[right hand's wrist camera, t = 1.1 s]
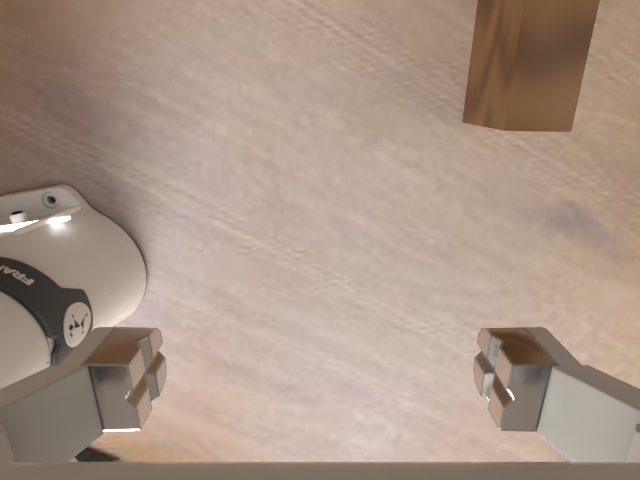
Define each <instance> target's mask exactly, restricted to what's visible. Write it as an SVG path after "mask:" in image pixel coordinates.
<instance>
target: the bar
mask: <svg viewBox="0 0 640 480" xmlns="http://www.w3.org/2000/svg"><path fill="white" fill-rule="evenodd" d="M598 5H599V0H478V6H477V14H476V21H475V29H474V37H473V45H472V53H471V60H470V68H469V76H468V84H467V92H466V99H465V107H464V115H463V123H468V124H473V125H478V126H483V127H488V128H493V129H498V130H503V131H551V132H571V129H572V124H573V119H574V115H575V110H576V106H577V101H578V96H579V92H580V87H581V83H582V78H583V73H584V69H585V64H586V60H587V55H588V51H589V46H590V41H591V37H592V32H593V28H594V23H595V18H596V14H597V9H598Z"/></svg>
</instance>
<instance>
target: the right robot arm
mask: <svg viewBox="0 0 640 480" xmlns="http://www.w3.org/2000/svg"><path fill="white" fill-rule="evenodd" d="M51 196H53V197H54V198H55V202H54V201H53V200H52V199H51ZM145 289H146V269H145V265H144V261H143V258H142V256H141V254H140V252H139V250H138V248H137V246H136V245H135V243H134V242H133V240H132V239H131V238H130V236H129V235H128V234H127V233H126V232H125V231H124V230H123V229H122V228H121V227H120V226H118V225H117V224H116V223H115V222H113V221H112V220H110V219H109V218H107V217H105V216H104V215H102V214H100V213H99V212H97V211H96V210H94V209H93V208H91V207H90V206H89V204H88V203H87V202H86V201H85V200H84V198H83V197H82V196H81V195H80V194H79V193H78V192H77V191H76V190H75V189H74V188H72V187H71V186H69V185H65V184H61V185H56V186H50V187H45V188H39V189H34V190H29V191H23V192H18V193H13V194H7V195H2V196H0V480H640V389H638V388H636V387H634V386H632V385H630V384H627V383H625V382H623V381H621V380H619V379H617V378H614V377H612V376H610V375H608V374H606V373H604V372H601V371H599V370H597V369H595V368H593V367H591V366H582V365H581V364H580V363H579V362H578V361H577V360H576V359H575V358H574V357H573V356H572V355H571V354H570V353H569V352H568V351H567V350H566V349H565V348H564V347H563V346H562V345H561V344H560V342H559V341H558V340H557V339H556V338H555V337H554V336H553V335H552V334H551V333H550V332H549V331H548V330H547V329H546V328H543V327H521V328H483V329H481V330H480V332H479V335H478V340H477V343H478V345H479V347H480V348H481V350H482V351H481V352H480V353H479V354H478V355H477V356H476V357H475V360H474V368H473V370H474V380H475V384H476V387H477V389H478V391H479V393H480V395H481V396H482V397H483V398H485V399H486V400H488V401H489V406H488V410H489V412H490V414H491V416H492V418H493V420H494V421H495V423H496V425H497V427H498V429H499V431H532V432H537V434H538V435H539V436H540V437H542V438H543V439H544V440H545V441H547V442H548V443H549V444H550V445H552V446H553V447H554V448H555V449H557V450H558V451H559V452H560V453H562V454H563V455H564V456H565V457H567V458H568V459H569V460H570V461H572V462H69V461H70V460H71V459H72V458H73V457H75V456H76V455H77V454H79V453H80V452H81V451H82V450H84V449H85V448H86V447H87V446H89V445H90V444H91V443H92V442H94V441H95V440H96V439H97V438H99V437H100V436H101V435H102V434H103V432H108V431H141V429H142V427H143V425H144V423H145V421H146V420H147V418H148V416H149V414H150V412H151V410H152V406H151V401H152V400H154V399H155V398H157V397H158V396H159V395H160V393H161V391H162V389H163V387H164V383H165V379H166V359H165V357H164V356H163V355H162V354H161V353H160V352H159V351H158V350H159V348H160V347H161V345H162V343H163V341H162V336H161V331H160V330H159V329H158V328H140V327H113V326H115V325H116V324H118V323H119V322H121V321H122V320H124V319H125V318H127V317H128V316H129V315H130V314H132V313H133V312H134V311H135V310H136V308H137V307H138V306H139V304H140V302H141V301H142V298H143V296H144V293H145Z"/></svg>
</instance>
